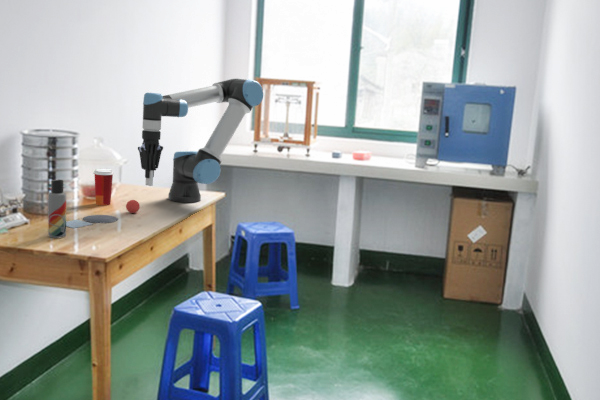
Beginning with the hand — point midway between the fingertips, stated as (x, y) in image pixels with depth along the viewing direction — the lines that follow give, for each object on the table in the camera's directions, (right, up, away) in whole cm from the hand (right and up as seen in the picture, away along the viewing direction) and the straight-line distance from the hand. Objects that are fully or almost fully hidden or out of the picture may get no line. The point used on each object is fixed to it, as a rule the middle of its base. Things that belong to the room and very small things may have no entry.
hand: (149, 185), depth 257 cm
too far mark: (-20, -15, -30) cm, 40 cm away
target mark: (-14, -14, -20) cm, 28 cm away
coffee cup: (-22, -8, +6) cm, 24 cm away
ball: (-5, -9, -6) cm, 12 cm away
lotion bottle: (-20, -19, -48) cm, 55 cm away
